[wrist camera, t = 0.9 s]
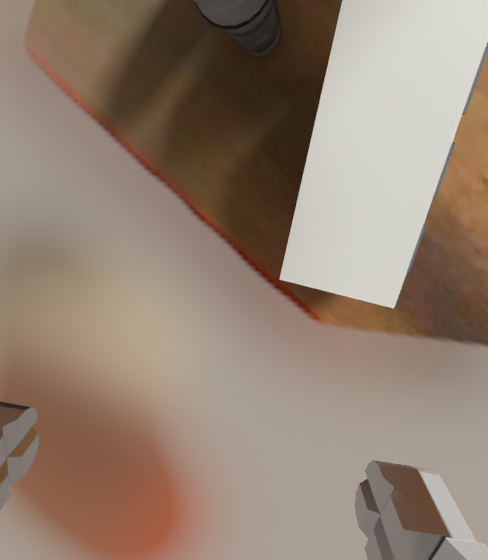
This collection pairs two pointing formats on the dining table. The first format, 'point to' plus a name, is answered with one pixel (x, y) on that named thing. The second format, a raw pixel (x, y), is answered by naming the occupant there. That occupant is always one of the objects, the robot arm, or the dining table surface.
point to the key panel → (381, 141)
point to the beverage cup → (245, 22)
